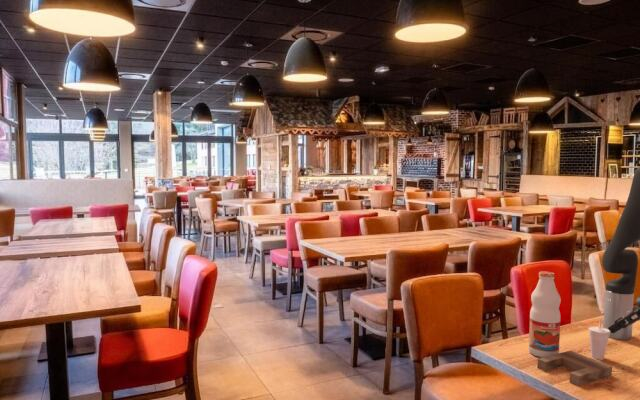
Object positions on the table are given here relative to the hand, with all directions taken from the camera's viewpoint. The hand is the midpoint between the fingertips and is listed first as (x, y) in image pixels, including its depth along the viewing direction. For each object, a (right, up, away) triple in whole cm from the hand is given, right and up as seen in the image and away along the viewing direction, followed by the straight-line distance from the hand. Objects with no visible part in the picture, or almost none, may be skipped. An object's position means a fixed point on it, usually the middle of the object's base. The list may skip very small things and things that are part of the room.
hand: (613, 327), depth 161 cm
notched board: (-17, -12, -8) cm, 22 cm away
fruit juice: (-20, -11, +6) cm, 24 cm away
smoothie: (-3, -11, +4) cm, 12 cm away
